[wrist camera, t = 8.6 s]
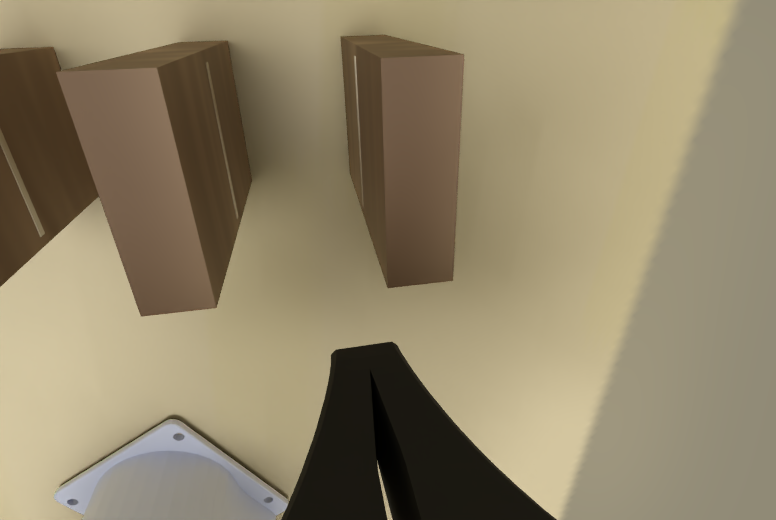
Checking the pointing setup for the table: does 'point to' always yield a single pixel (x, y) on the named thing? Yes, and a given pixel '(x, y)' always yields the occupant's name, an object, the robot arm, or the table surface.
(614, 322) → the table surface
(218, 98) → the domino
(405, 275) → the domino
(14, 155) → the domino
